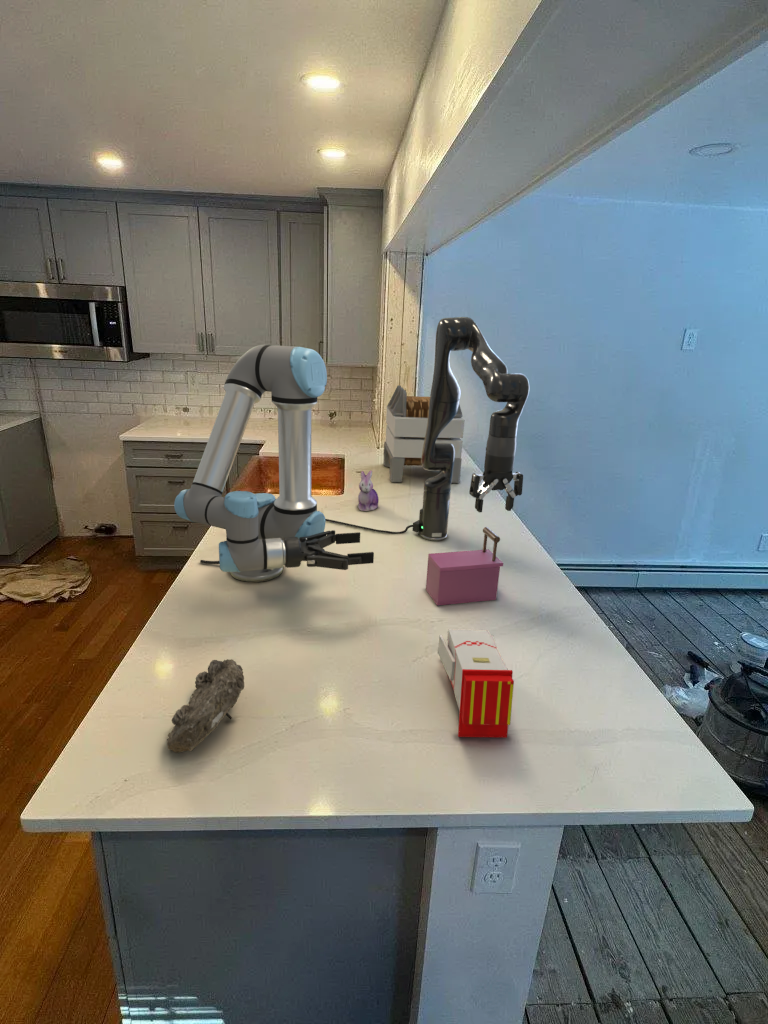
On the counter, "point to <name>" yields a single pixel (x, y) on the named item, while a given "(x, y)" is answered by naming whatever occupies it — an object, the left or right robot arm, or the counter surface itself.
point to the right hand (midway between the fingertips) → (493, 510)
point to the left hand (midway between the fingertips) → (366, 547)
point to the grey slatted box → (415, 434)
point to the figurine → (367, 493)
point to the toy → (478, 682)
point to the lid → (469, 557)
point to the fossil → (206, 705)
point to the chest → (461, 585)
